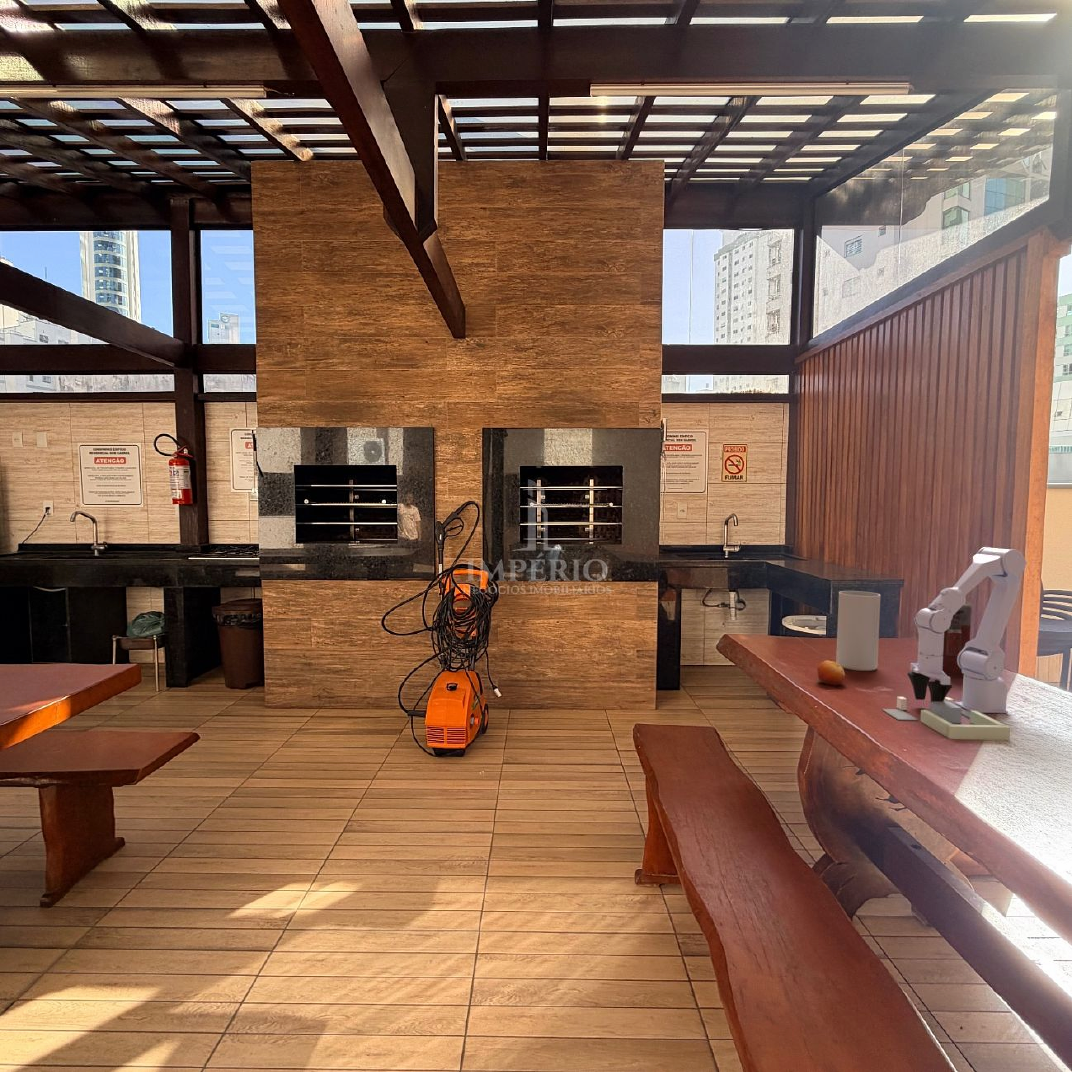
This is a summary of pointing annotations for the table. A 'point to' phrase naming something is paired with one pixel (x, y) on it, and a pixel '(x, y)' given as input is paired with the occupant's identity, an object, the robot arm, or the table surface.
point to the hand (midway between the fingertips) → (928, 703)
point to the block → (946, 711)
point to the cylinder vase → (858, 630)
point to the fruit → (830, 673)
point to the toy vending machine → (956, 640)
